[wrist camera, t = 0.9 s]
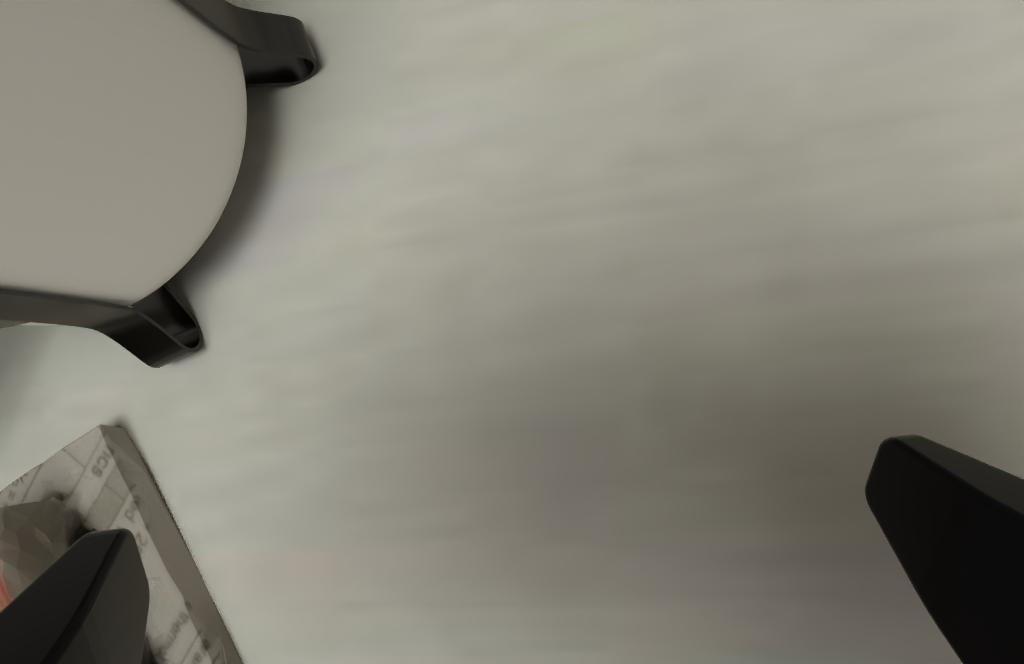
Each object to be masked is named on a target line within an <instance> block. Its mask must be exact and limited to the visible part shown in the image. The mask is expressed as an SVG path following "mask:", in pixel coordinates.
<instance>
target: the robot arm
mask: <svg viewBox="0 0 1024 664" xmlns="http://www.w3.org/2000/svg"><path fill="white" fill-rule="evenodd" d="M865 494H866V499H867V503H868V505H869V507H870V509H871V511H872V513H873V514H874V516H875V518H876V520H877V522H878V523H879V525H880V527H881V529H882V531H883V533H884V534H885V536H886V538H887V540H888V542H889V543H890V545H891V547H892V549H893V551H894V552H895V554H896V556H897V558H898V560H899V561H900V563H901V565H902V567H903V569H904V570H905V572H906V574H907V576H908V578H909V579H910V581H911V583H912V585H913V587H914V588H915V590H916V592H917V594H918V596H919V597H920V599H921V601H922V602H923V604H924V606H925V607H926V609H927V611H928V612H929V614H930V615H931V617H932V619H933V620H934V622H935V623H936V625H937V626H938V628H939V629H940V631H941V632H942V634H943V635H944V637H945V638H946V640H947V641H948V643H949V644H950V645H951V647H952V648H953V650H954V651H955V653H956V654H957V656H958V657H959V659H960V660H961V662H962V663H963V664H1024V479H1021V478H1019V477H1017V476H1014V475H1012V474H1009V473H1007V472H1005V471H1002V470H1000V469H998V468H995V467H993V466H990V465H988V464H986V463H983V462H981V461H979V460H976V459H974V458H971V457H969V456H967V455H964V454H962V453H960V452H957V451H955V450H952V449H950V448H948V447H945V446H943V445H941V444H938V443H936V442H934V441H931V440H929V439H926V438H924V437H921V436H918V435H905V436H897V437H890V438H887V439H885V440H884V441H883V442H882V443H881V444H880V446H879V449H878V452H877V454H876V457H875V460H874V463H873V466H872V469H871V472H870V475H869V477H868V480H867V483H866V488H865ZM149 602H150V591H149V583H148V579H147V576H146V573H145V569H144V566H143V563H142V559H141V556H140V553H139V549H138V546H137V543H136V540H135V537H134V535H133V534H132V532H131V531H130V530H128V529H125V528H119V529H111V530H102V531H94V532H90V533H87V534H85V535H83V536H82V537H81V538H80V539H78V540H77V541H76V542H75V543H74V544H73V545H72V546H71V547H70V548H69V549H68V550H67V551H65V552H64V553H63V554H62V555H61V556H60V557H59V558H58V559H57V560H56V561H55V562H54V563H53V564H51V565H50V566H49V567H48V568H47V569H46V570H45V571H44V572H43V573H42V574H41V575H40V576H38V577H37V578H36V579H35V580H34V581H33V582H32V583H31V584H30V585H29V586H28V587H27V588H26V589H24V590H23V591H22V592H21V593H20V594H19V595H18V596H17V597H16V598H15V599H14V600H13V601H12V602H10V603H9V604H8V605H7V606H6V607H5V608H4V609H3V610H2V611H1V612H0V664H141V661H142V654H143V647H144V640H145V633H146V625H147V618H148V611H149Z"/></svg>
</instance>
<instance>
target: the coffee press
mask: <svg viewBox="0 0 1024 664" xmlns="http://www.w3.org/2000/svg"><path fill="white" fill-rule="evenodd" d="M237 45H238V46H237ZM317 69H318V63H317V60H316V57H315V55H314V52H313V49H312V46H311V44H310V41H309V38H308V36H307V33H306V30H305V27H304V25H303V23H302V22H301V21H300V20H299V19H297V18H294V17H290V16H285V15H278V14H271V13H264V12H258V11H253V10H248V9H244V8H240V7H237V6H234V5H232V4H230V3H228V2H226V1H225V0H0V328H5V327H11V326H16V325H34V326H52V325H68V326H77V327H84V328H90V329H94V330H97V331H99V332H101V333H103V334H105V335H107V336H108V337H110V338H111V339H113V340H114V341H116V342H117V343H119V344H120V345H122V346H123V347H124V348H126V349H127V350H128V351H130V352H131V353H132V354H133V355H135V356H136V357H137V358H139V359H140V360H141V361H143V362H144V363H145V364H147V365H149V366H151V367H154V368H160V367H162V366H164V365H167V364H169V363H171V362H174V361H176V360H178V359H181V358H183V357H185V356H188V355H190V354H192V353H194V352H197V351H198V350H199V349H200V348H201V346H202V333H201V330H200V327H199V325H198V323H197V321H196V320H195V318H194V317H193V315H192V314H191V313H190V312H189V311H188V310H187V308H186V307H185V306H184V305H183V304H182V303H181V302H180V301H179V299H178V298H177V297H176V296H175V295H174V294H173V292H172V291H171V290H170V289H169V287H168V286H167V284H166V282H167V281H168V280H169V279H171V278H172V277H173V276H174V275H175V274H176V273H177V272H178V271H179V270H181V269H182V268H183V267H184V266H185V264H186V263H187V262H188V261H189V260H190V259H191V258H192V257H193V256H194V255H195V253H196V252H197V251H198V250H199V248H200V247H201V246H202V245H203V243H204V242H205V240H206V239H207V238H208V236H209V235H210V233H211V232H212V230H213V228H214V227H215V225H216V223H217V222H218V220H219V218H220V216H221V214H222V212H223V210H224V208H225V206H226V204H227V202H228V200H229V197H230V195H231V192H232V190H233V187H234V184H235V181H236V178H237V175H238V172H239V168H240V164H241V160H242V155H243V150H244V144H245V136H246V125H247V98H246V88H247V87H256V86H284V85H293V84H298V83H301V82H303V81H305V80H307V79H309V78H310V77H312V76H313V75H314V74H315V73H316V71H317ZM130 305H131V306H132V307H133V308H131V307H128V306H130Z"/></svg>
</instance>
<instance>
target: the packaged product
mask: <svg viewBox="0 0 1024 664" xmlns="http://www.w3.org/2000/svg"><path fill="white" fill-rule="evenodd" d="M119 528H125V529H128V530H130V531H131V532H132V534H133V535H134V537H135V540H136V543H137V546H138V549H139V553H140V556H141V559H142V563H143V566H144V569H145V573H146V576H147V579H148V583H149V591H150V602H149V611H148V618H147V625H146V633H145V640H144V647H143V654H142V661H141V664H243V663H242V661H241V658H240V656H239V654H238V652H237V650H236V648H235V646H234V644H233V642H232V639H231V637H230V635H229V633H228V631H227V629H226V627H225V625H224V623H223V620H222V618H221V616H220V614H219V612H218V610H217V608H216V606H215V604H214V602H213V600H212V598H211V596H210V594H209V592H208V590H207V587H206V585H205V583H204V581H203V579H202V577H201V574H200V572H199V570H198V568H197V566H196V564H195V562H194V560H193V558H192V556H191V554H190V552H189V550H188V548H187V546H186V545H185V543H184V541H183V539H182V537H181V535H180V533H179V531H178V529H177V527H176V525H175V523H174V521H173V519H172V517H171V515H170V513H169V511H168V509H167V507H166V505H165V503H164V501H163V499H162V497H161V496H160V494H159V492H158V490H157V488H156V486H155V484H154V482H153V480H152V478H151V476H150V474H149V472H148V470H147V468H146V466H145V464H144V462H143V460H142V458H141V456H140V454H139V452H138V450H137V448H136V447H135V445H134V444H133V442H132V440H131V439H130V437H129V436H128V434H127V432H126V431H125V429H124V428H120V427H113V426H106V425H99V426H97V427H96V428H94V429H93V430H91V431H90V432H88V433H87V434H85V435H83V436H82V437H80V438H79V439H77V440H75V441H74V442H72V443H71V444H69V445H68V446H66V447H64V448H63V449H61V450H60V451H59V452H57V453H56V454H55V455H54V456H52V457H51V458H49V459H48V460H47V461H45V462H44V463H42V464H40V465H38V466H36V467H35V468H33V469H32V470H30V471H29V472H27V473H26V474H24V475H23V476H22V477H20V478H19V479H17V480H16V481H15V482H13V483H12V484H10V485H9V486H8V487H6V488H5V489H3V490H2V491H1V492H0V612H1V611H2V610H3V609H4V608H5V607H6V606H7V605H8V604H9V603H10V602H12V601H13V600H14V599H15V598H16V597H17V596H18V595H19V594H20V593H21V592H22V591H23V590H24V589H26V588H27V587H28V586H29V585H30V584H31V583H32V582H33V581H34V580H35V579H36V578H37V577H38V576H40V575H41V574H42V573H43V572H44V571H45V570H46V569H47V568H48V567H49V566H50V565H51V564H53V563H54V562H55V561H56V560H57V559H58V558H59V557H60V556H61V555H62V554H63V553H64V552H65V551H67V550H68V549H69V548H70V547H71V546H72V545H73V544H74V543H75V542H76V541H77V540H78V539H80V538H81V537H82V536H83V535H85V534H87V533H90V532H94V531H102V530H111V529H119Z"/></svg>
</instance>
